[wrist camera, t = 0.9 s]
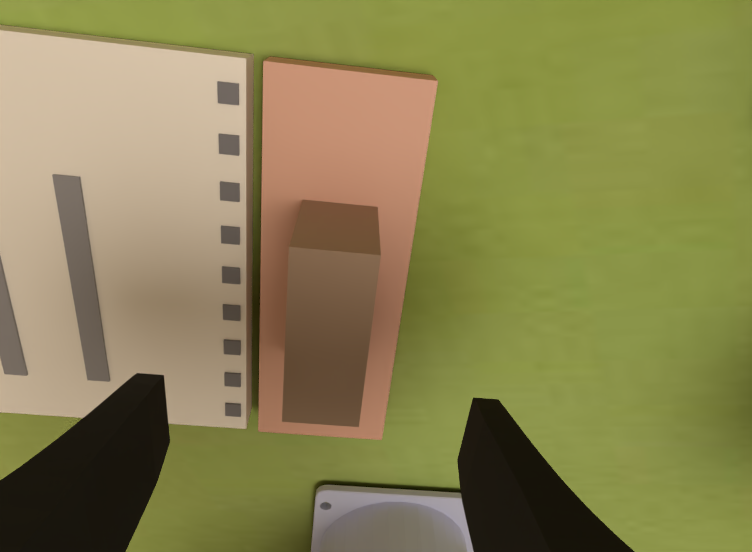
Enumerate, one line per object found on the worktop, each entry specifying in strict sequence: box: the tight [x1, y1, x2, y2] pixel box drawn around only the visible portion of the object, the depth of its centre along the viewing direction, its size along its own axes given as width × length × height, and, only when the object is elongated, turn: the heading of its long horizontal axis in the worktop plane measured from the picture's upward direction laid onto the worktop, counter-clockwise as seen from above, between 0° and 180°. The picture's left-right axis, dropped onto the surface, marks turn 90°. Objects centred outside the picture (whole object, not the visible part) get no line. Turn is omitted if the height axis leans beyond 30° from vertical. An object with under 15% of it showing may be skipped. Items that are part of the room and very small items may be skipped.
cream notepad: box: [0, 25, 254, 429], centre depth 19 cm, size 14×12×1 cm
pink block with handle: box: [258, 57, 438, 440], centre depth 18 cm, size 14×5×5 cm, turn 174°
